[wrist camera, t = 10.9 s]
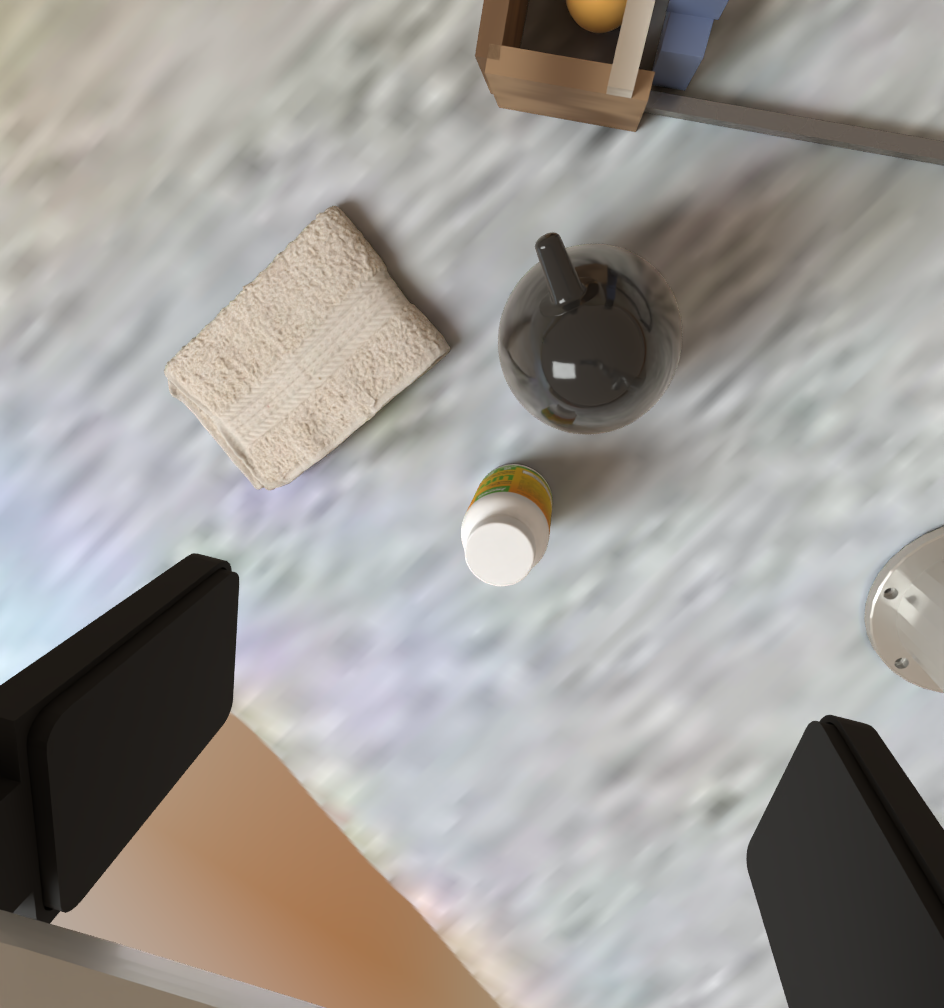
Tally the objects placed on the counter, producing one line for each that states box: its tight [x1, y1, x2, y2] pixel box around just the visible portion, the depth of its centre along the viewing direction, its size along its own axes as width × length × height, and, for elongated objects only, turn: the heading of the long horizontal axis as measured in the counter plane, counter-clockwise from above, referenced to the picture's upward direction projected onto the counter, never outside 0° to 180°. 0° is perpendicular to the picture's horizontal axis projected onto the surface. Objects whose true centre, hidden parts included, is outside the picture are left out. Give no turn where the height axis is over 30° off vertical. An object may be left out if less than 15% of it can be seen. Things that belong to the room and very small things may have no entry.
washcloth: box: [164, 206, 451, 490], centre depth 41 cm, size 12×18×3 cm, turn 130°
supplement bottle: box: [461, 464, 553, 586], centre depth 38 cm, size 5×5×10 cm
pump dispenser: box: [498, 232, 682, 435], centre depth 31 cm, size 10×10×15 cm
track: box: [644, 90, 944, 165], centre depth 30 cm, size 22×9×2 cm, turn 80°
